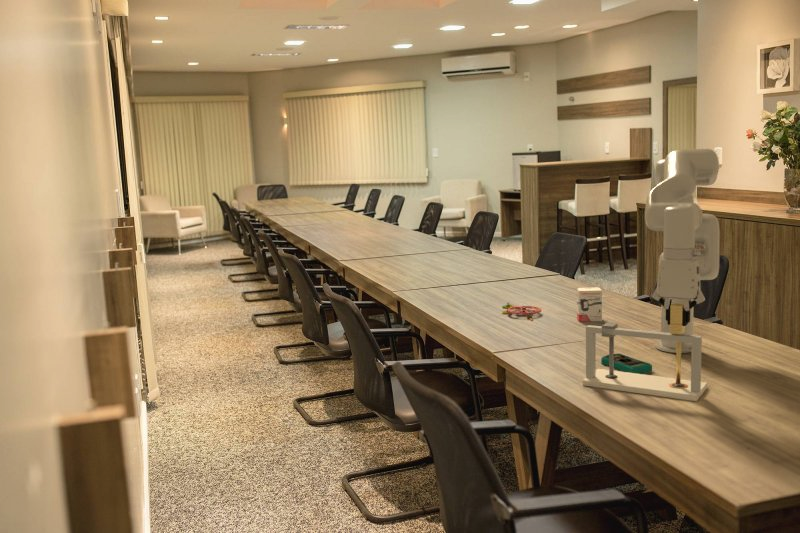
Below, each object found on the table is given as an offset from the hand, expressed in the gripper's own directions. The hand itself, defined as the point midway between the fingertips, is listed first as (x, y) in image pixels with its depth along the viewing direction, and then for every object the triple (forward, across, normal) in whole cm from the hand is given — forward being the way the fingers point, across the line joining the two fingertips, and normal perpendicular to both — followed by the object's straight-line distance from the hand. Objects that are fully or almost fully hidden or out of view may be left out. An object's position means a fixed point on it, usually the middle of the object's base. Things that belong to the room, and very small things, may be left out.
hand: (677, 323), depth 205 cm
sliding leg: (+17, 0, 0) cm, 17 cm away
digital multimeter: (+19, +19, -17) cm, 32 cm away
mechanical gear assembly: (+20, +77, -71) cm, 107 cm away
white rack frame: (+19, +9, -2) cm, 21 cm away
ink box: (+19, +49, -70) cm, 87 cm away
